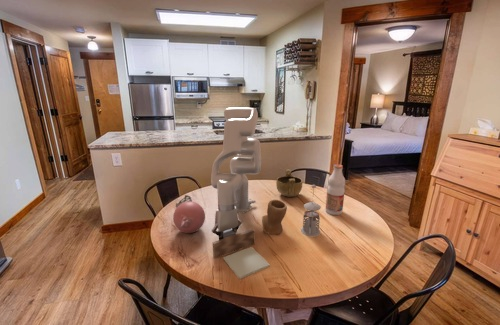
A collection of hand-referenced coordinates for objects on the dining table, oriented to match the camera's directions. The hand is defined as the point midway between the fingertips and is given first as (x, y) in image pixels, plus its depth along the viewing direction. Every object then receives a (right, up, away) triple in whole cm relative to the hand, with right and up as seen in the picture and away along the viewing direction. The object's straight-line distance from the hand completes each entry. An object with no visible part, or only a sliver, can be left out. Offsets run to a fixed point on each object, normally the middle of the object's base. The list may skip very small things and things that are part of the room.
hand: (227, 240), depth 120 cm
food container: (-25, +6, +25) cm, 36 cm away
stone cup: (+23, +3, +12) cm, 26 cm away
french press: (+41, +2, +8) cm, 41 cm away
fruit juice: (+59, +8, +29) cm, 66 cm away
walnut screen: (+4, -2, -6) cm, 7 cm away
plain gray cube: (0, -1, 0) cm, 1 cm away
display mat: (+9, -5, -14) cm, 17 cm away
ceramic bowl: (+36, +15, +52) cm, 65 cm away
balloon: (-20, +1, +8) cm, 21 cm away
